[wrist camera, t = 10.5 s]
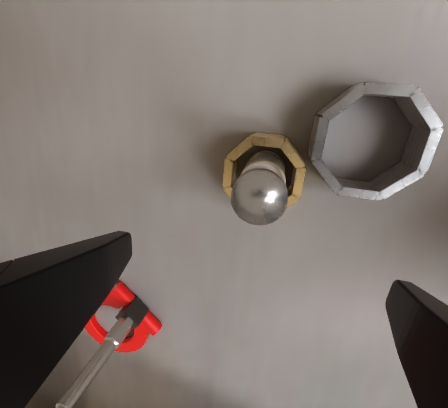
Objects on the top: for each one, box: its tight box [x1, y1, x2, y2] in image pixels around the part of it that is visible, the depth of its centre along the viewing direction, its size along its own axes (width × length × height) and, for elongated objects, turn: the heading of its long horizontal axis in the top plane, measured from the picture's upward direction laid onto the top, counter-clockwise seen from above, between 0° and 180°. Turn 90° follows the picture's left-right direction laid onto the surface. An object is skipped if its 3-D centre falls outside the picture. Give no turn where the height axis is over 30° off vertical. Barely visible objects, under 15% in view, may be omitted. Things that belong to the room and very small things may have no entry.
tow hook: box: [56, 282, 162, 408], centre depth 24 cm, size 8×13×9 cm
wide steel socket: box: [308, 82, 443, 201], centre depth 18 cm, size 7×7×2 cm
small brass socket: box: [222, 132, 306, 208], centre depth 20 cm, size 6×6×2 cm
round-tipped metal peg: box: [231, 151, 288, 225], centre depth 18 cm, size 3×3×7 cm
